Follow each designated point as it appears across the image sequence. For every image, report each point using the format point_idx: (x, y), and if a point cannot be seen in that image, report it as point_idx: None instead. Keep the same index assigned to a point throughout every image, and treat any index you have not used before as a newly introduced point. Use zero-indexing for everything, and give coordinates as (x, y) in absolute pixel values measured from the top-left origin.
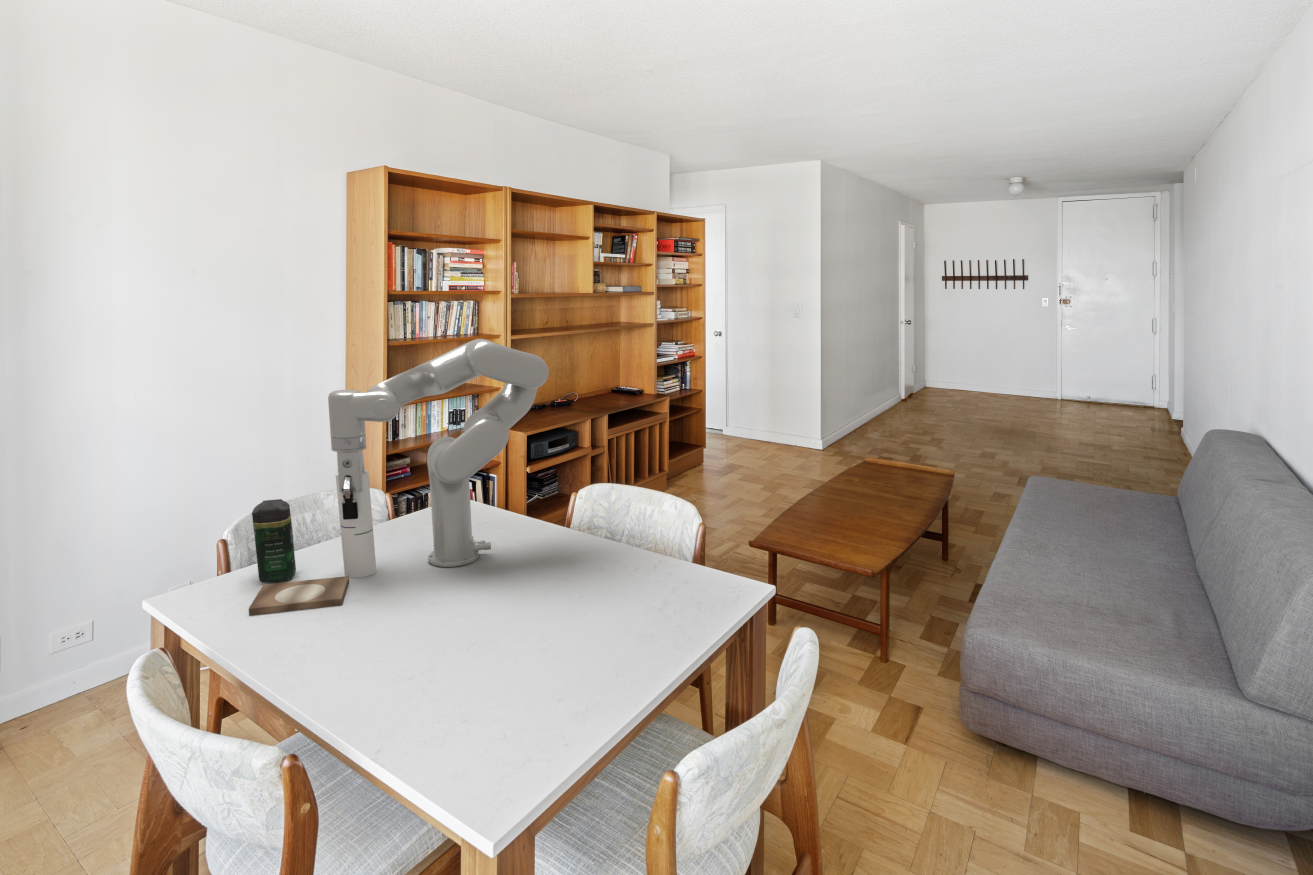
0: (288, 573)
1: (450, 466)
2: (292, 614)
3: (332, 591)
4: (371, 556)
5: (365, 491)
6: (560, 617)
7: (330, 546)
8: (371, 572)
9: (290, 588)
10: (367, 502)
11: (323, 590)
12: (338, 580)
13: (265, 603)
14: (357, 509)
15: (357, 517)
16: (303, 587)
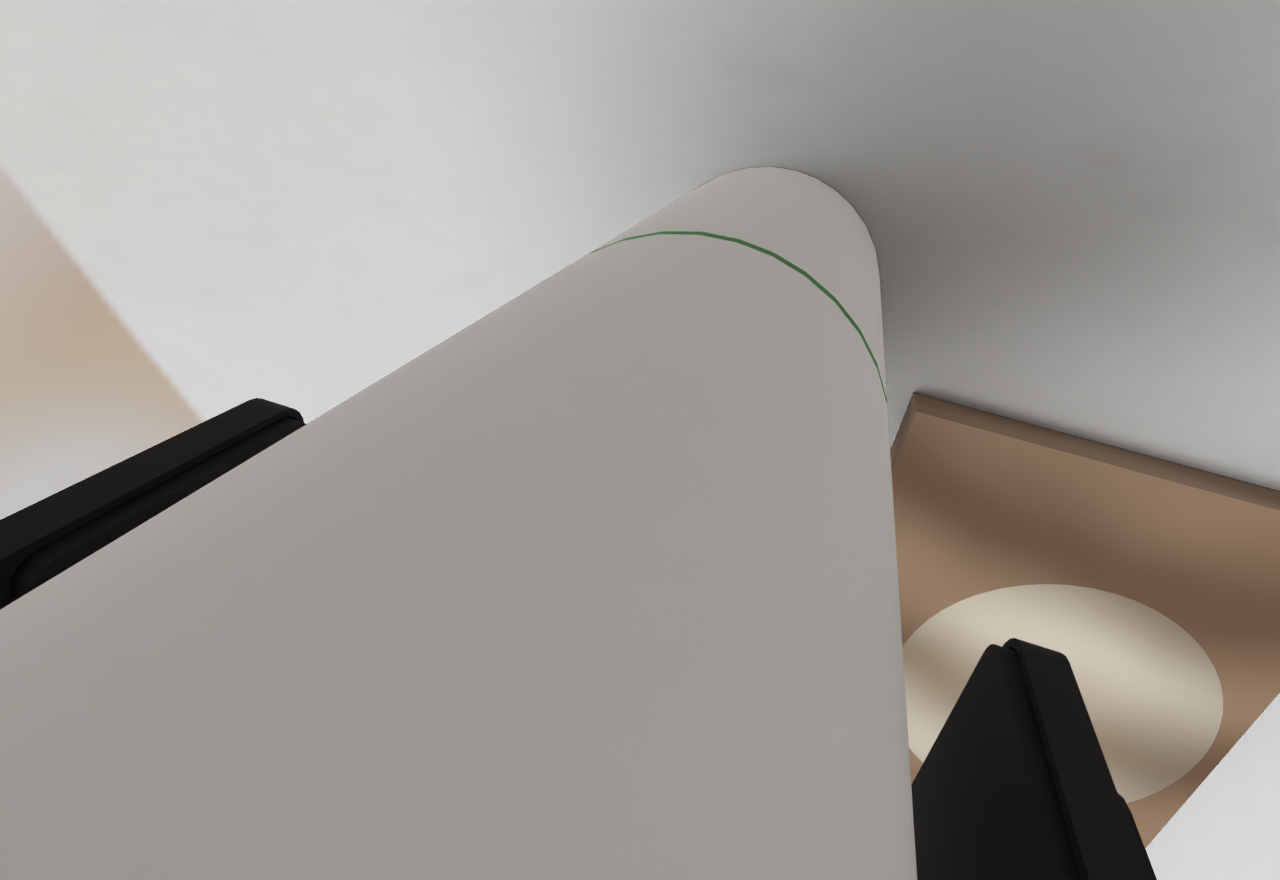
0: None
1: None
2: (1255, 755)
3: (1180, 562)
4: (847, 234)
5: None
6: None
7: (210, 380)
8: (859, 221)
9: (914, 723)
10: (793, 547)
11: (1106, 601)
12: (968, 486)
13: None
14: (1111, 803)
15: (1059, 662)
16: (951, 673)
